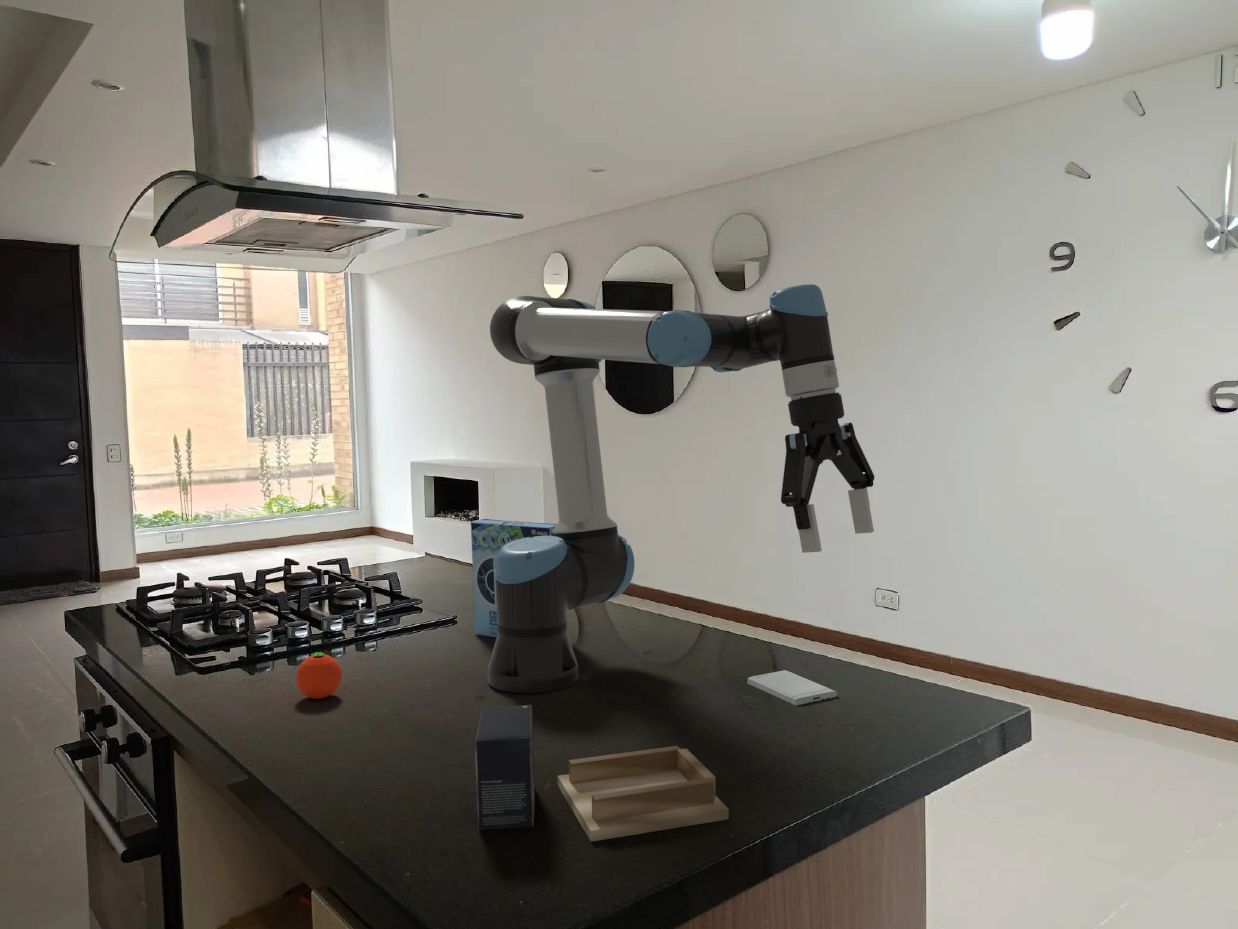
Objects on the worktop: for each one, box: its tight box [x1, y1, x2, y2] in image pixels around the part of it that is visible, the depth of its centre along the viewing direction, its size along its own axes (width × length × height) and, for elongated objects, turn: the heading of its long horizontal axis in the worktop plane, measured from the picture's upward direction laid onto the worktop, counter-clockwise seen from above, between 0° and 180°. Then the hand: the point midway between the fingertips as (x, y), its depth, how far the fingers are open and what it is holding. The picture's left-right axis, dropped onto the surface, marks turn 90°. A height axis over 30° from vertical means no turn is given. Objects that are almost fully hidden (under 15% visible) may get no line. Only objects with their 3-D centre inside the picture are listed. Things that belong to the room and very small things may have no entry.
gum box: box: [470, 518, 558, 639], centre depth 180 cm, size 20×5×23 cm, turn 59°
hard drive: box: [747, 669, 838, 706], centre depth 148 cm, size 2×8×12 cm
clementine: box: [295, 652, 343, 700], centre depth 147 cm, size 8×7×7 cm
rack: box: [557, 745, 730, 842], centre depth 108 cm, size 15×16×4 cm
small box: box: [475, 704, 536, 831], centre depth 106 cm, size 11×6×10 cm, turn 5°
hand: (839, 542), depth 131 cm, fingers open, 13 cm apart
